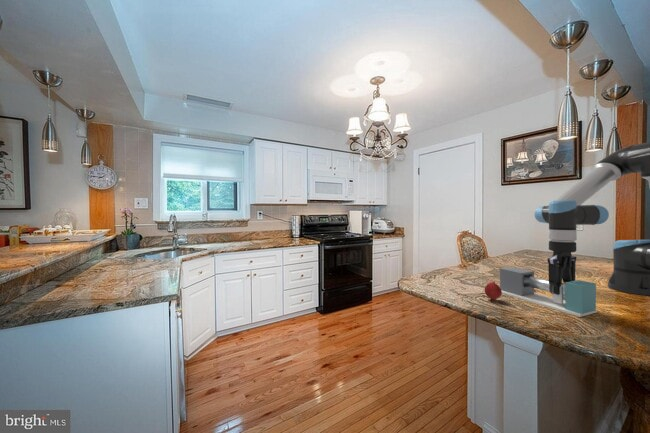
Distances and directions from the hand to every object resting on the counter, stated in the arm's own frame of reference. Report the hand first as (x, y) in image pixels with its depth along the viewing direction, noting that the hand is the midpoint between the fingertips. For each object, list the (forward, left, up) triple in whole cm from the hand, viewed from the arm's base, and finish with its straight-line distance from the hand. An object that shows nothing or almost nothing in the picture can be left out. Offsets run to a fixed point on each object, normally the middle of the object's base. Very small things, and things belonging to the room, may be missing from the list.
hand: (562, 301), depth 92 cm
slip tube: (0, -3, +2) cm, 4 cm away
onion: (+17, -14, -2) cm, 22 cm away
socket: (0, +5, -2) cm, 6 cm away
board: (0, -6, -2) cm, 7 cm away
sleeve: (0, -16, -2) cm, 16 cm away
